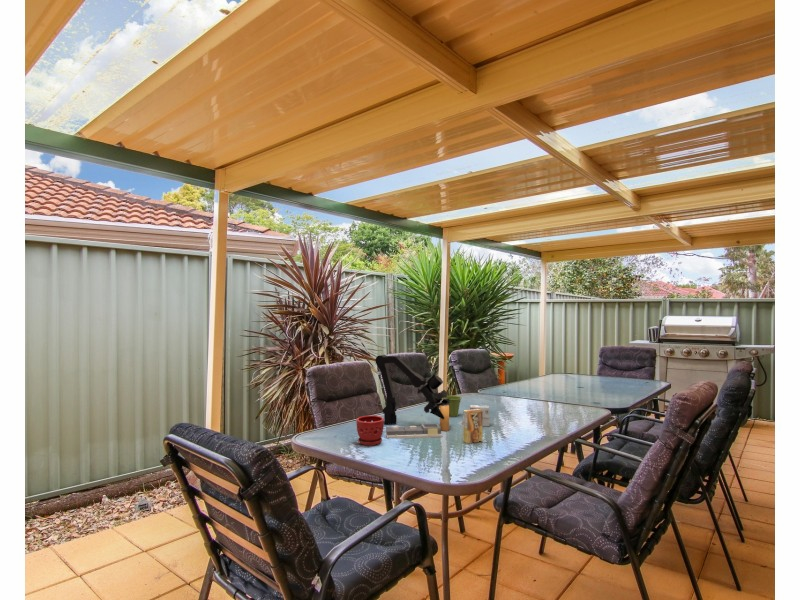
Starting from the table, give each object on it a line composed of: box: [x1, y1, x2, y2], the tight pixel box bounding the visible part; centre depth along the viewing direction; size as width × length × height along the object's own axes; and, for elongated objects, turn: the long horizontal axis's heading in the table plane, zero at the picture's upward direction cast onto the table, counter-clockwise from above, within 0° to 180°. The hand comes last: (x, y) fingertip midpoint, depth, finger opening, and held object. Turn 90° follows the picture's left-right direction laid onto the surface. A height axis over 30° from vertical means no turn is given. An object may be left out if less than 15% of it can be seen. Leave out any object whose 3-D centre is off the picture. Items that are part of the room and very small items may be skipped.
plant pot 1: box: [356, 415, 385, 446], centre depth 219 cm, size 13×13×12 cm
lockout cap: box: [439, 405, 450, 432], centre depth 244 cm, size 5×5×13 cm
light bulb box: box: [469, 404, 491, 427], centre depth 255 cm, size 11×7×11 cm, turn 84°
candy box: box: [462, 409, 483, 444], centre depth 221 cm, size 9×4×15 cm, turn 116°
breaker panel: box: [384, 423, 443, 439], centre depth 234 cm, size 28×12×4 cm, turn 96°
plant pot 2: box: [442, 395, 462, 418], centre depth 280 cm, size 12×12×11 cm
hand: (446, 417), depth 244 cm, fingers closed on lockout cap, 5 cm apart
